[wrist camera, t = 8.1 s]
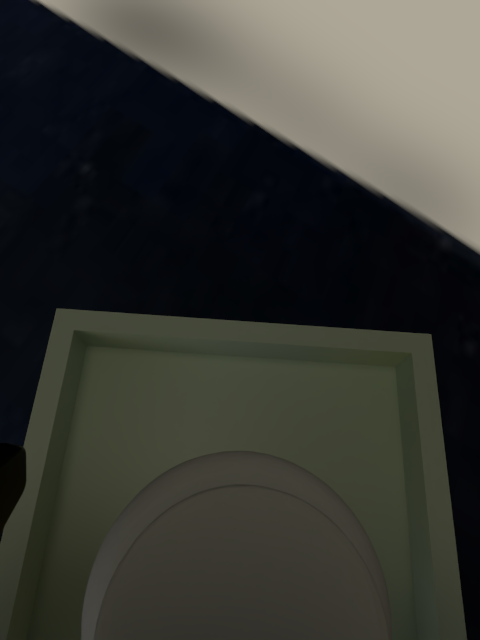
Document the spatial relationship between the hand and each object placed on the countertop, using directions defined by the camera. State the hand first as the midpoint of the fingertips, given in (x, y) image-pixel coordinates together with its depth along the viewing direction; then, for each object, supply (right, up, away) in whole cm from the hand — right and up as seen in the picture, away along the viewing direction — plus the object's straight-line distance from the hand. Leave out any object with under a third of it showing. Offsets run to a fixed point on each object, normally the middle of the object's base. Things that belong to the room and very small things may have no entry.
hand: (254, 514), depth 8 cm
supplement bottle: (-1, -5, +7) cm, 8 cm away
